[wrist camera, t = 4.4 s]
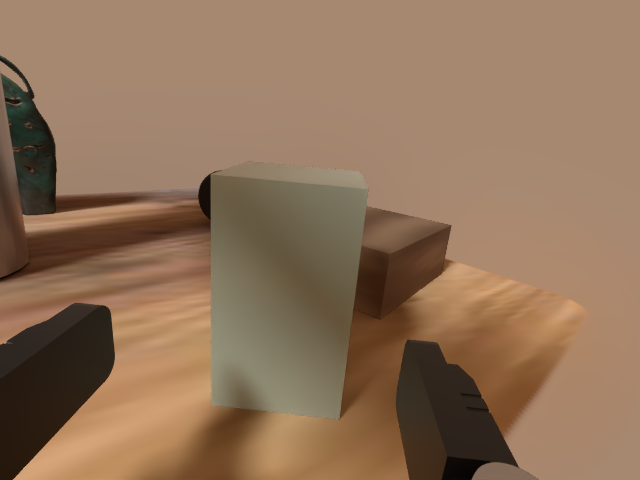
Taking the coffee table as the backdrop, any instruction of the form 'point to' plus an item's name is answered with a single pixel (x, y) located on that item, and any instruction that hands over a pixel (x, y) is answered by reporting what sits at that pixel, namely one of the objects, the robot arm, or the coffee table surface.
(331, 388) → the tall sage green block
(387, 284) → the walnut box
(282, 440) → the coffee table surface
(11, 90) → the green animal figurine
